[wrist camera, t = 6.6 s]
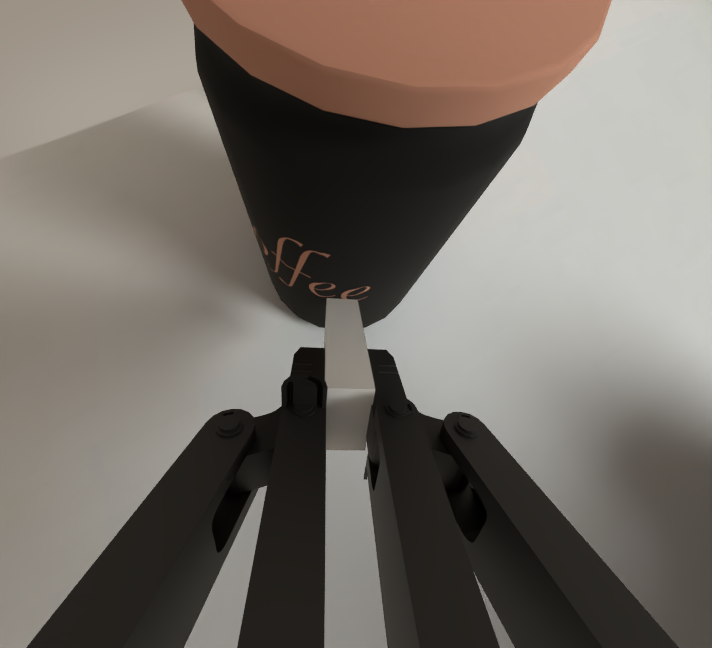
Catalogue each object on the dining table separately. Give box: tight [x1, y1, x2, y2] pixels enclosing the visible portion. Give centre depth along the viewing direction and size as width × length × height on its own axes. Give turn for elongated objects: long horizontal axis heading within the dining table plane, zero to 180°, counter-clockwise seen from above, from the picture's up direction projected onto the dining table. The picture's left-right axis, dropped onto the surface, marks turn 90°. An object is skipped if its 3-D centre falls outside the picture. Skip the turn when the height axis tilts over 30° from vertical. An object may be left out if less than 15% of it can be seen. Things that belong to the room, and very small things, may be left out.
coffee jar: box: [182, 0, 611, 328], centre depth 15 cm, size 11×11×18 cm
